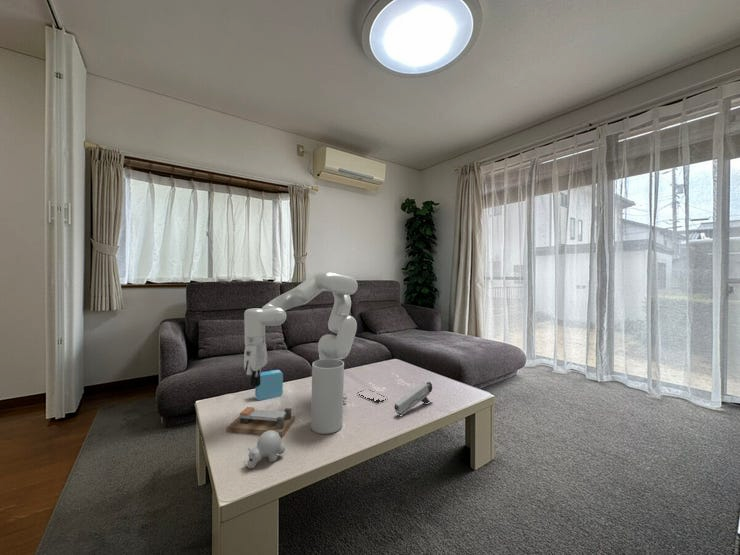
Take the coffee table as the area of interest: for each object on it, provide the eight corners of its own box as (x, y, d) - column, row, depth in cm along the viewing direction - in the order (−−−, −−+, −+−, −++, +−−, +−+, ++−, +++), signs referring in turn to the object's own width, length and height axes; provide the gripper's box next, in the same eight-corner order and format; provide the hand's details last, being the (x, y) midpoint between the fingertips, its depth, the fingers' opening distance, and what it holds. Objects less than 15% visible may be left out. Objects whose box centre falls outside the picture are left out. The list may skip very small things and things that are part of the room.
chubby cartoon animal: (245, 470, 88) (235, 449, 86) (278, 441, 96) (270, 422, 94) (255, 481, 83) (244, 460, 81) (289, 450, 91) (280, 430, 89)
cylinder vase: (314, 417, 117) (316, 358, 117) (344, 418, 117) (345, 359, 117) (307, 434, 104) (308, 367, 105) (340, 435, 104) (341, 369, 104)
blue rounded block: (280, 392, 141) (280, 369, 141) (282, 396, 137) (283, 371, 137) (255, 397, 135) (255, 372, 135) (256, 401, 131) (257, 375, 131)
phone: (367, 388, 147) (388, 398, 136) (367, 391, 147) (388, 400, 136) (356, 393, 141) (377, 403, 131) (356, 395, 141) (376, 405, 131)
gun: (435, 399, 135) (432, 380, 134) (400, 427, 119) (397, 406, 118) (430, 397, 137) (428, 378, 136) (396, 425, 121) (393, 404, 120)
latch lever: (286, 414, 111) (287, 409, 111) (281, 421, 106) (281, 416, 106) (246, 411, 113) (246, 406, 113) (239, 418, 108) (239, 413, 108)
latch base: (294, 420, 114) (295, 406, 114) (282, 437, 102) (282, 421, 102) (244, 416, 116) (244, 402, 116) (226, 432, 104) (226, 416, 104)
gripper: (254, 345, 102) (254, 394, 102) (272, 335, 117) (273, 378, 117) (234, 344, 103) (235, 393, 103) (255, 335, 118) (256, 378, 118)
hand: (255, 385), depth 110 cm, fingers closed
